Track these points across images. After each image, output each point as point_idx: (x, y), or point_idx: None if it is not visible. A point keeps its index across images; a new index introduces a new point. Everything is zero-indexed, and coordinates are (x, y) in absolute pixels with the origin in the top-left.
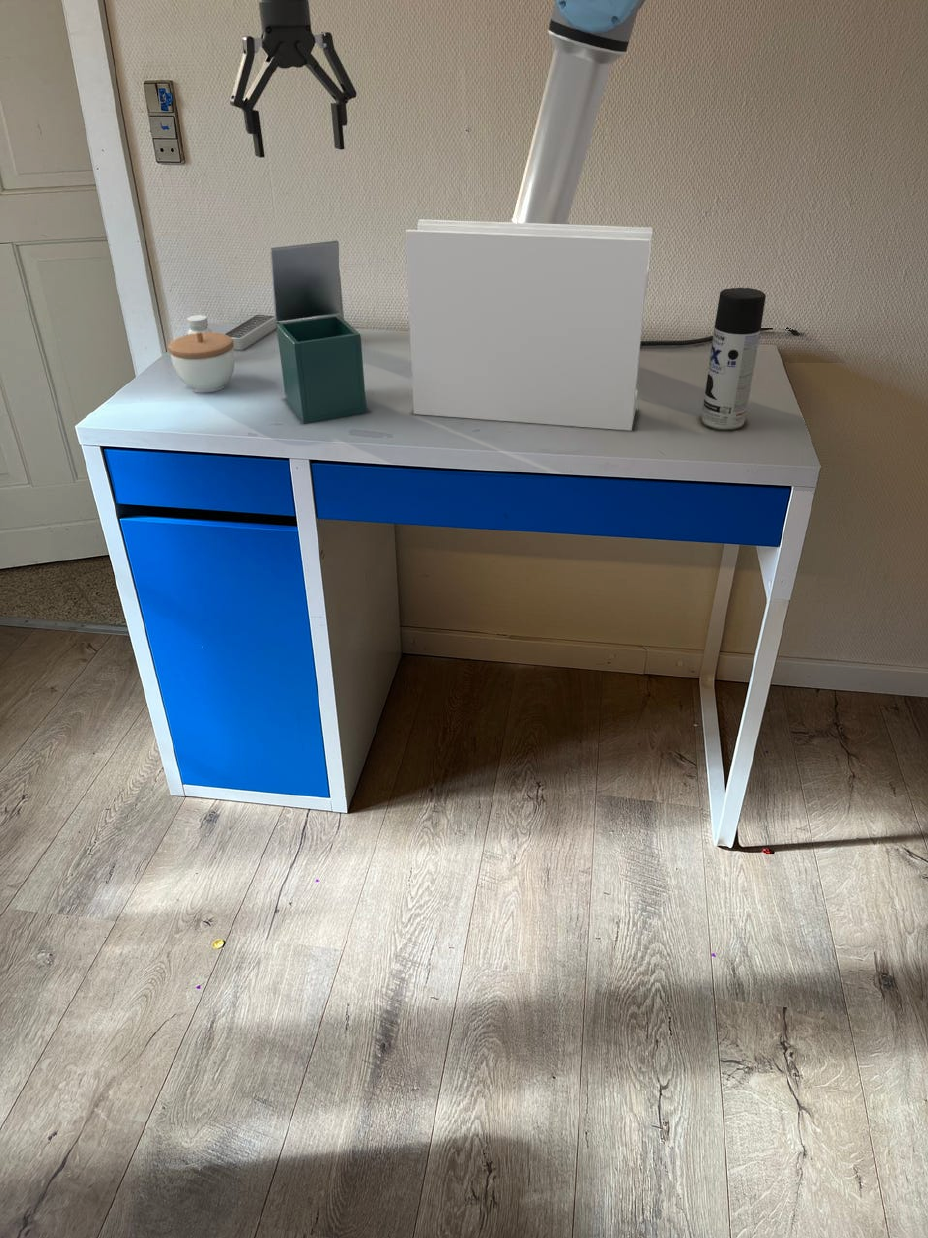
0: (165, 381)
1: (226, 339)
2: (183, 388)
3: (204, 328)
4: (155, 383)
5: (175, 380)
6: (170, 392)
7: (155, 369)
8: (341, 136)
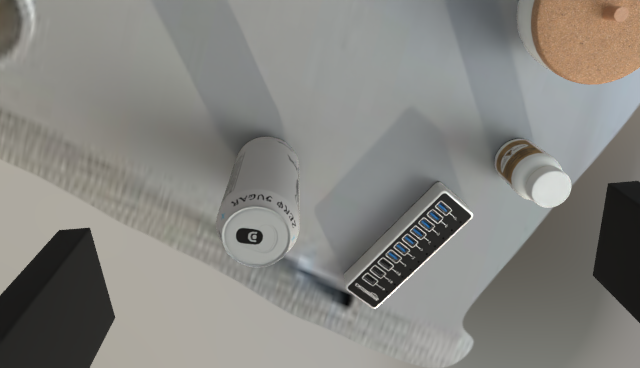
0: None
1: (554, 1)
2: None
3: (535, 168)
4: None
5: None
6: None
7: (608, 142)
8: (38, 272)
